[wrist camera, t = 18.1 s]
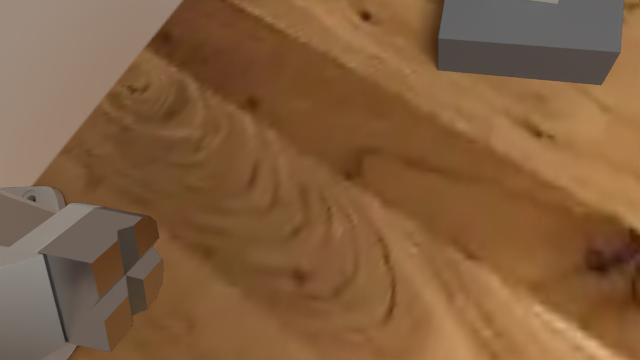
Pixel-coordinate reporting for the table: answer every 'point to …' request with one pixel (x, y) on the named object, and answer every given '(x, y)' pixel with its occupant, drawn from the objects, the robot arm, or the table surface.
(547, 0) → the cream block
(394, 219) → the table surface
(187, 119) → the table surface
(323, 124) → the table surface
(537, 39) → the slate block
